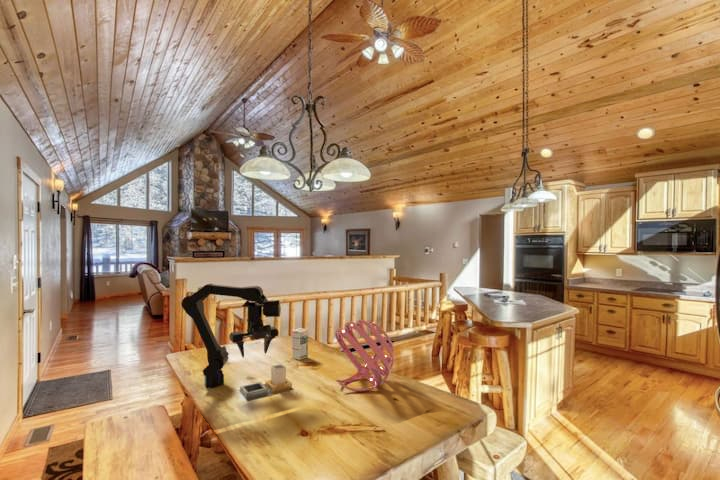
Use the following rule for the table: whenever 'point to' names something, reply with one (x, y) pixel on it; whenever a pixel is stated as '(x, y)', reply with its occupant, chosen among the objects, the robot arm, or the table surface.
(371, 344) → the slotted curved sculpture
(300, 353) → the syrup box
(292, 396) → the table surface
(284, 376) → the plug
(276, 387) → the panel
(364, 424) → the table surface
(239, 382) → the table surface
